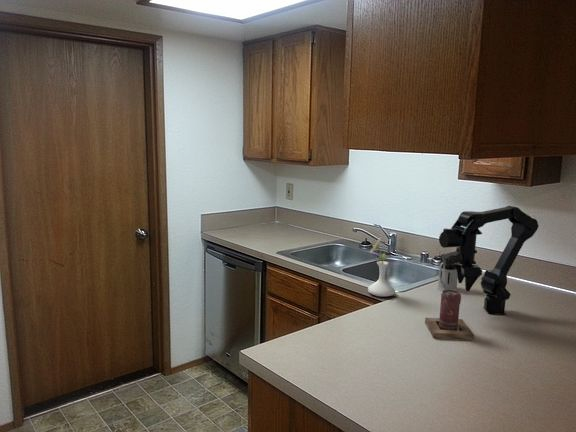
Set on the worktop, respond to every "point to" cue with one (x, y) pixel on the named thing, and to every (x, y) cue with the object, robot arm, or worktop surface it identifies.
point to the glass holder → (447, 277)
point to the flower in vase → (381, 277)
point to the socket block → (461, 334)
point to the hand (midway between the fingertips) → (463, 286)
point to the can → (449, 310)
